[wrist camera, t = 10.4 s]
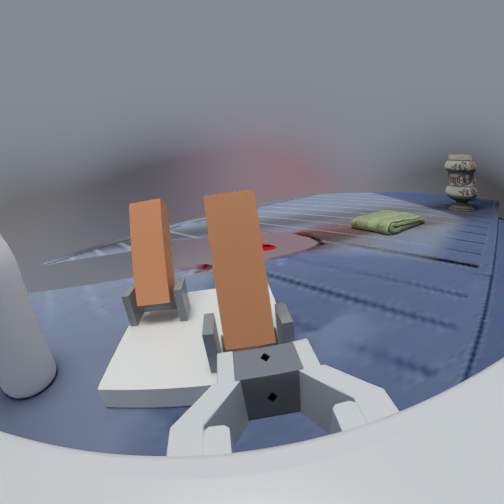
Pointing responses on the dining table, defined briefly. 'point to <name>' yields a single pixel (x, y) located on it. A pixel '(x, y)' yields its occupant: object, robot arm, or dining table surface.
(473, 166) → the apothecary jar
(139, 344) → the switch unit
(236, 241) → the lever
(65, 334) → the dining table surface
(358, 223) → the washcloth
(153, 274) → the lever
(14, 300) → the milk bottle
